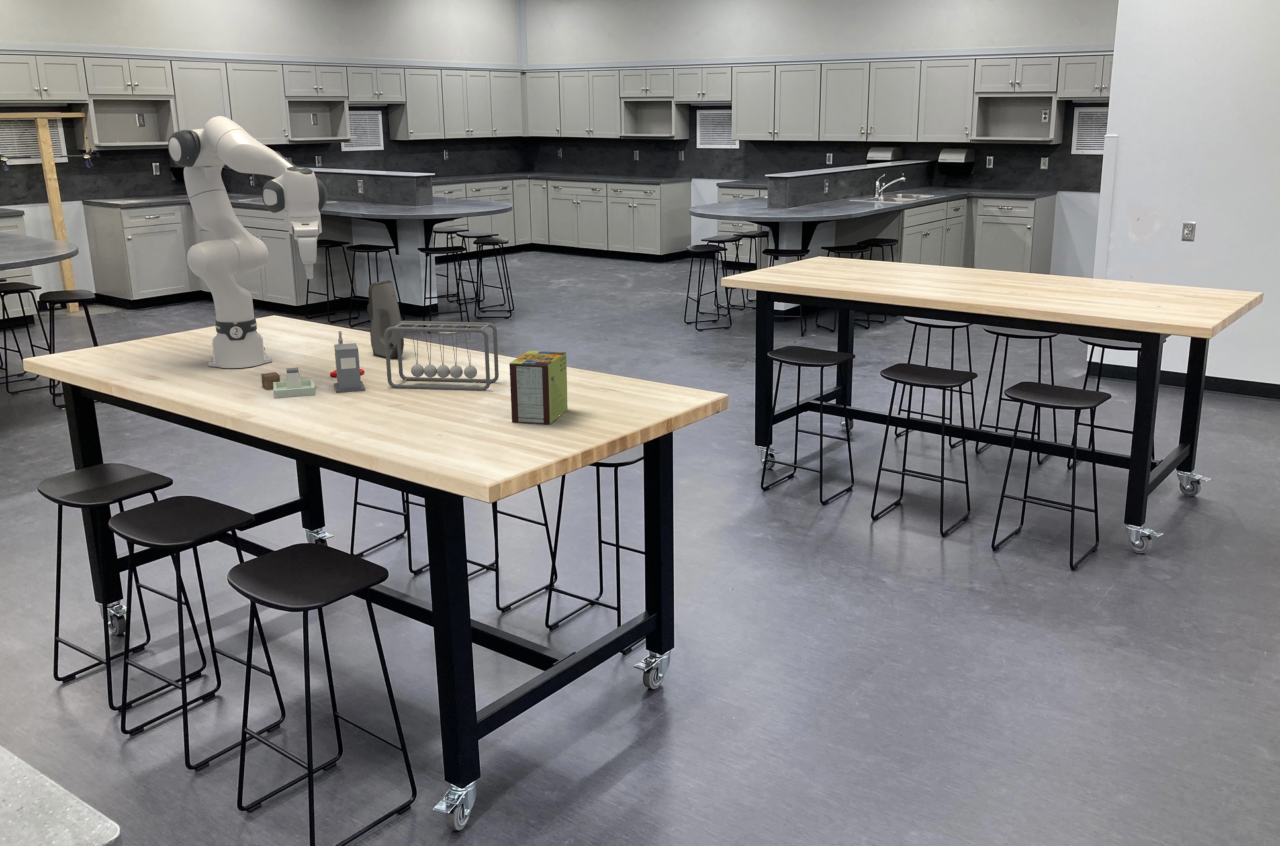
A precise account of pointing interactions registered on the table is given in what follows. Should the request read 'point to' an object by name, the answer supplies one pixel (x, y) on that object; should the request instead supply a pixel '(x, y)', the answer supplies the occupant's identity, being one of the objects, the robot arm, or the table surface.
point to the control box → (347, 368)
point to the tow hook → (340, 341)
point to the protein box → (538, 387)
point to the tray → (282, 390)
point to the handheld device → (383, 318)
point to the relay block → (293, 378)
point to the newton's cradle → (442, 369)
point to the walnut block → (269, 380)
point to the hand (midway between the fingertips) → (309, 276)
